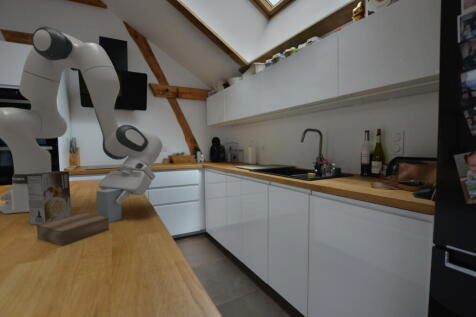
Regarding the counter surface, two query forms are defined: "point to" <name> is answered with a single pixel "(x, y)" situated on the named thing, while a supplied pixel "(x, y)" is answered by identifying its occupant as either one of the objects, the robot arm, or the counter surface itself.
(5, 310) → the counter surface
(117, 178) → the robot arm
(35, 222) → the coffee box
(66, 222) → the walnut slab
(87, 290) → the counter surface
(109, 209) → the slate block
